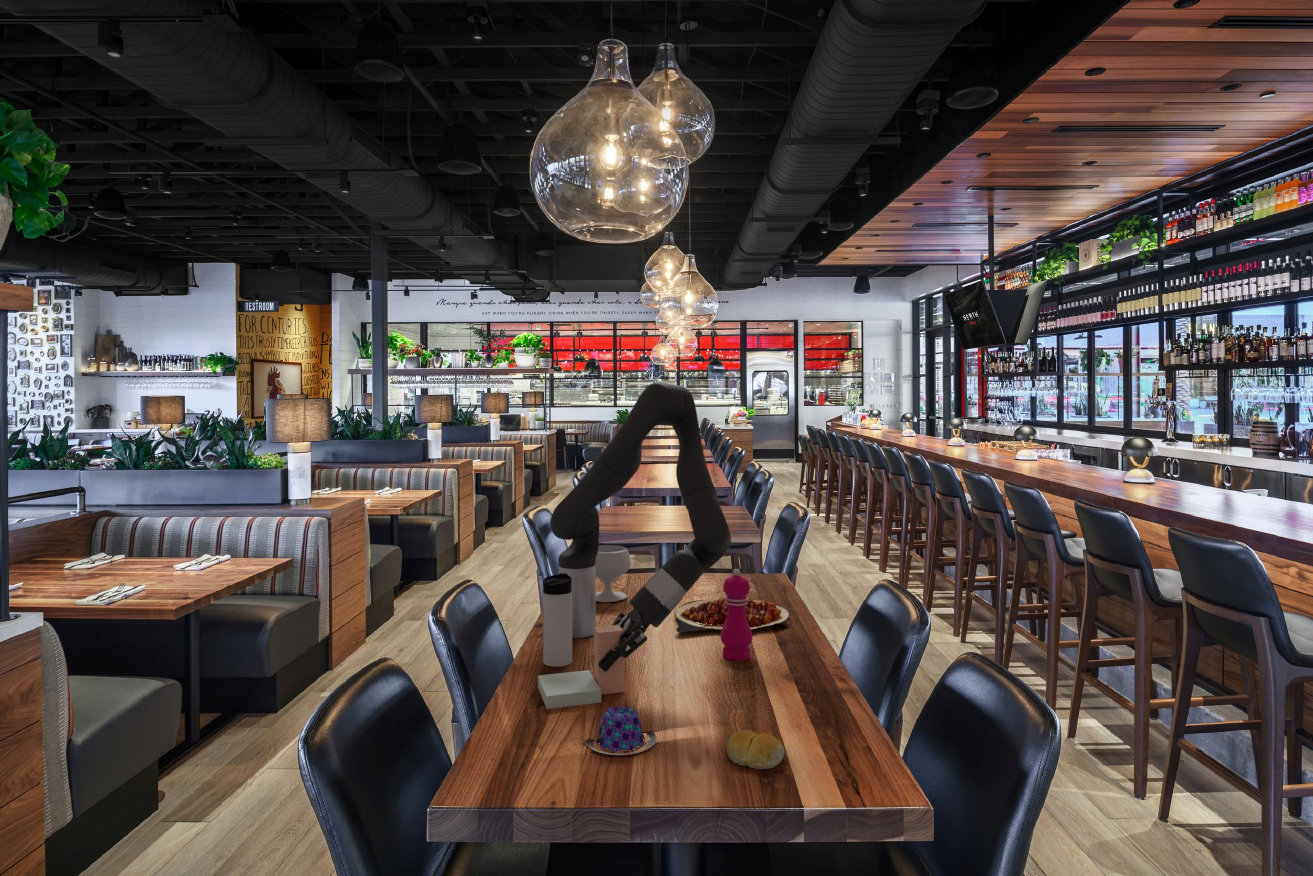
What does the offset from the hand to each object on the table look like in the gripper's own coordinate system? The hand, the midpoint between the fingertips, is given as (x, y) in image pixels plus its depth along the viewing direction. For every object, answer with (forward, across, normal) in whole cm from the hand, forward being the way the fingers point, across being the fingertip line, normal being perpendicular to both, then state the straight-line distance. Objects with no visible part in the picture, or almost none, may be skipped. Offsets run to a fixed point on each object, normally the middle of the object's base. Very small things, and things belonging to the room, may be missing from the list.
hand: (599, 664), depth 140 cm
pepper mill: (-20, -14, +30) cm, 39 cm away
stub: (+2, 0, +5) cm, 6 cm away
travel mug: (+8, -20, +2) cm, 21 cm away
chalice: (-9, -75, +18) cm, 77 cm away
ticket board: (+3, 0, +6) cm, 7 cm away
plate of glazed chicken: (-27, -41, +37) cm, 62 cm away
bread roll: (-8, +31, +18) cm, 37 cm away
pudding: (+6, +19, +5) cm, 21 cm away
